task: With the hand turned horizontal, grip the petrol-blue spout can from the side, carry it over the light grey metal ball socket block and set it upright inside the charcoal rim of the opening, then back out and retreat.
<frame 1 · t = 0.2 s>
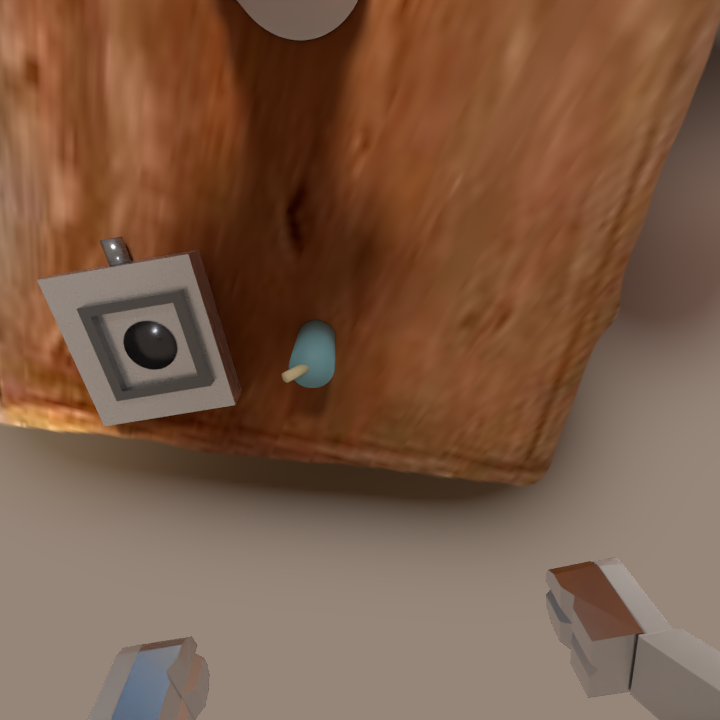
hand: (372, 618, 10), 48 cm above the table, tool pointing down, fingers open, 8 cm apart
ball socket block: (156, 336, 56), on the table
spout can: (316, 338, 57), on the table
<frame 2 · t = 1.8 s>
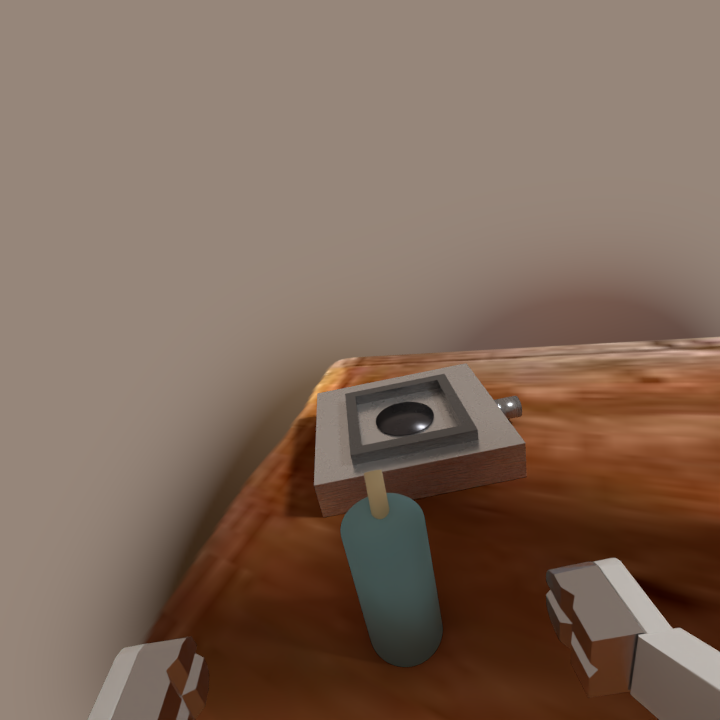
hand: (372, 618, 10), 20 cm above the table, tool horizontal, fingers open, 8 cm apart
ball socket block: (408, 442, 49), on the table
spout can: (405, 627, 30), on the table
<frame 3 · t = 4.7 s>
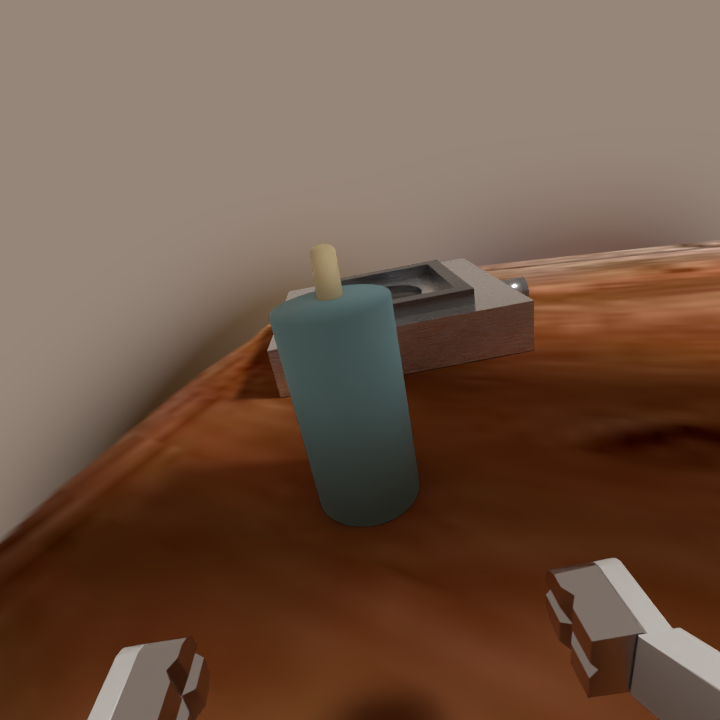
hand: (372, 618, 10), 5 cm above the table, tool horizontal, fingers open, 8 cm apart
ball socket block: (391, 334, 41), on the table
spout can: (369, 487, 22), on the table
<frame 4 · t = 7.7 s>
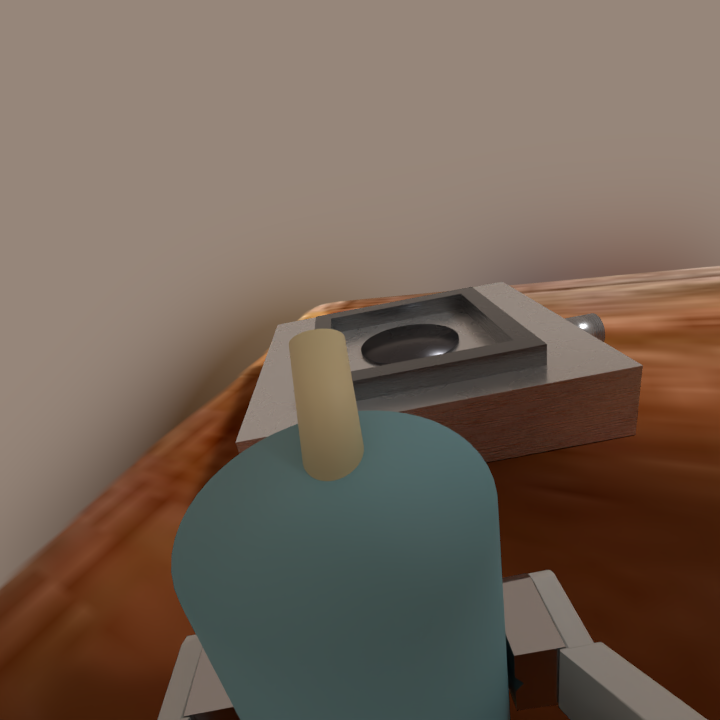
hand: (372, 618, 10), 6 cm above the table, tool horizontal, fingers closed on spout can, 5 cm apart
ball socket block: (414, 390, 30), on the table
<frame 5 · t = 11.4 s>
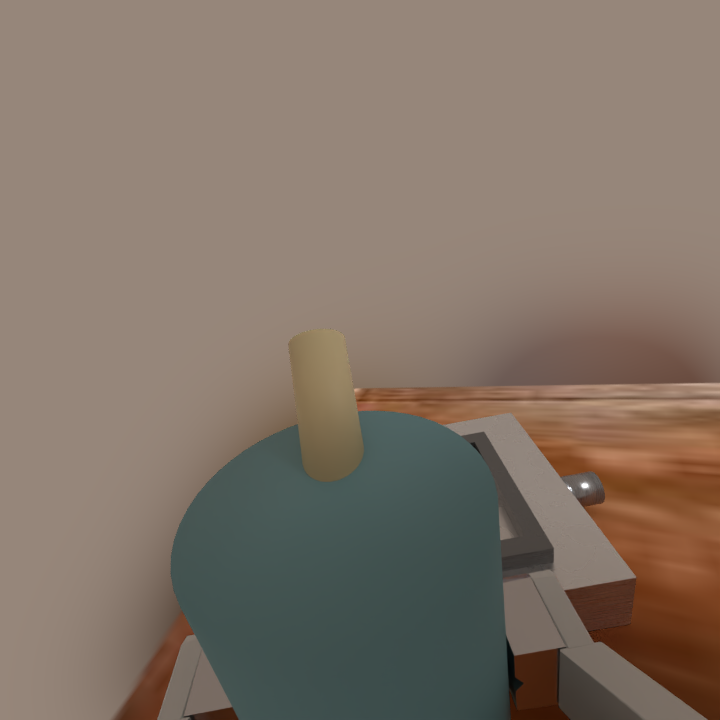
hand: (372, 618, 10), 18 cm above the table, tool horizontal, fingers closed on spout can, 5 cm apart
ball socket block: (432, 535, 33), on the table
when the fingers open (11 cm above the table, at t = 14.9 s): spout can drops 1 cm, resting on ball socket block.
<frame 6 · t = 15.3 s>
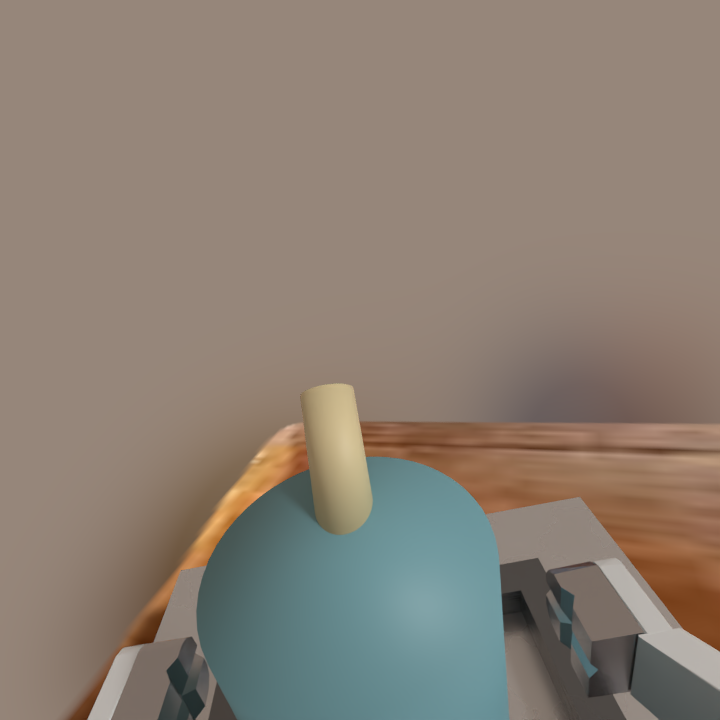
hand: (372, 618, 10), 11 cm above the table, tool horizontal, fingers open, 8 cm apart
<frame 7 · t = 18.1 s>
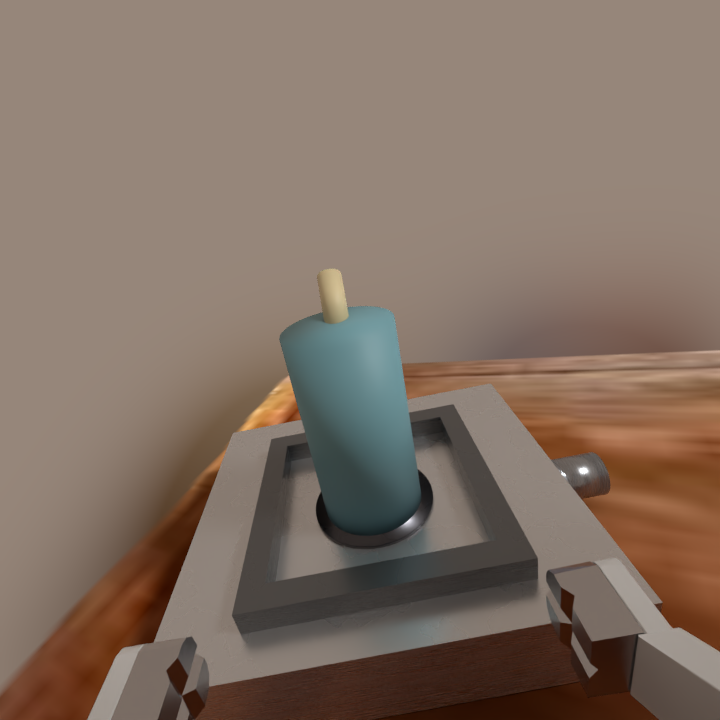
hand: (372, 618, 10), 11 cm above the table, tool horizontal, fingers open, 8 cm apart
ball socket block: (383, 539, 25), on the table
spout can: (373, 497, 23), point 4 cm above the table, touching ball socket block
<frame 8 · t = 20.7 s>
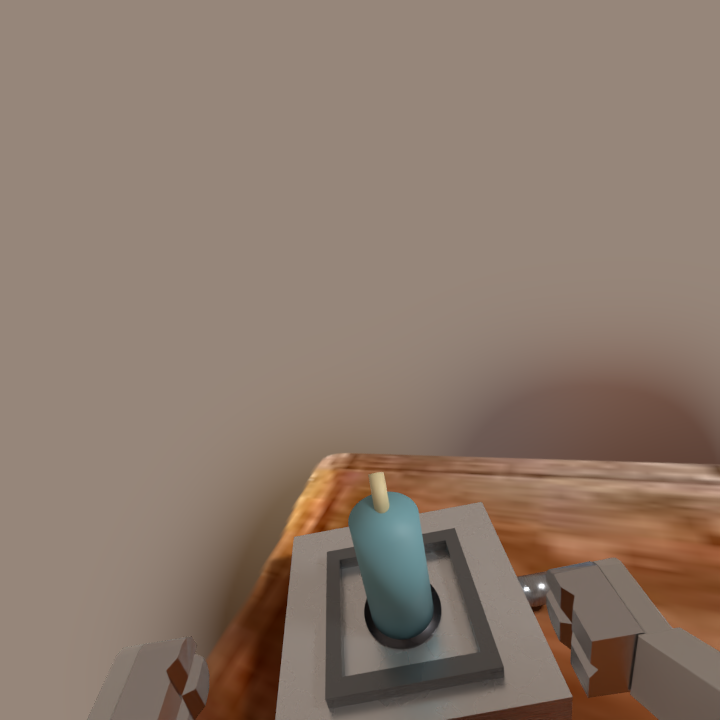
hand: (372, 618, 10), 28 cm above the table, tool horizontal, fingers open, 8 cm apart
ball socket block: (406, 628, 37), on the table
spout can: (401, 607, 35), point 4 cm above the table, touching ball socket block
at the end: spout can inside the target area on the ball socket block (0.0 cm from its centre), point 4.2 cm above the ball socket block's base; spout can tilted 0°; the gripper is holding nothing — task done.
